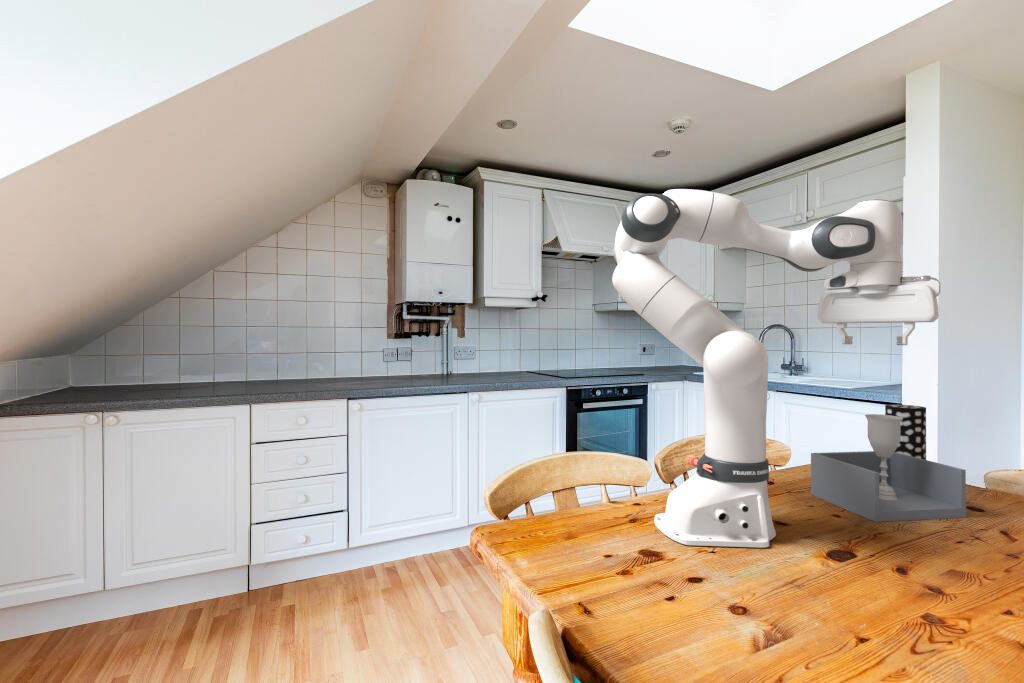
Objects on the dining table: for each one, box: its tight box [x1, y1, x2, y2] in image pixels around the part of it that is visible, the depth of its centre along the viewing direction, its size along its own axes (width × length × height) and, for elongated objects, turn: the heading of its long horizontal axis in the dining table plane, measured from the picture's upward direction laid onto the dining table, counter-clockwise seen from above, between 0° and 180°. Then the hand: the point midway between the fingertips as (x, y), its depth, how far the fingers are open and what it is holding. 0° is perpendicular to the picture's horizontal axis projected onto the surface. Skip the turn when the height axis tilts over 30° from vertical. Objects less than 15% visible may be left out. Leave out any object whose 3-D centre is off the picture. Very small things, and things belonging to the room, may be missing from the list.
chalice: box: [864, 413, 903, 500], centre depth 109 cm, size 7×7×18 cm
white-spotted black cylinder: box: [884, 403, 927, 460], centre depth 126 cm, size 8×8×20 cm
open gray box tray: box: [810, 450, 967, 523], centre depth 109 cm, size 21×18×10 cm
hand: (873, 344), depth 101 cm, fingers open, 8 cm apart
